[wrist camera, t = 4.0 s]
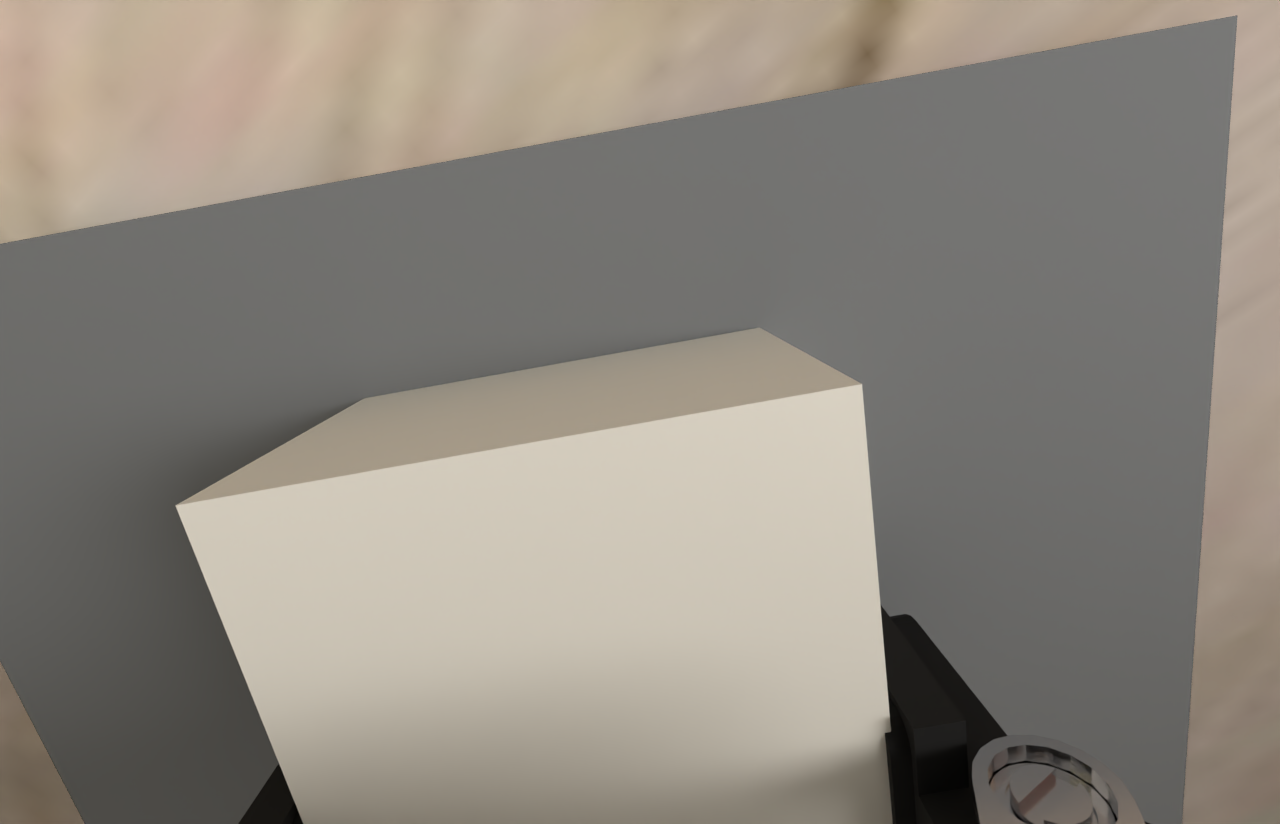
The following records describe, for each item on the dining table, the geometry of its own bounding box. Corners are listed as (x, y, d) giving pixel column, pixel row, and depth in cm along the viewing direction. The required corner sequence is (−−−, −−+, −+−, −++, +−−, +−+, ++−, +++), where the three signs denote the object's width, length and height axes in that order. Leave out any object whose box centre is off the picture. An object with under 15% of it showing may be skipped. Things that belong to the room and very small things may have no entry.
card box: (759, 327, 9) (862, 384, 5) (824, 846, 12) (925, 1144, 8) (363, 397, 9) (175, 505, 5) (514, 897, 12) (461, 1217, 8)
